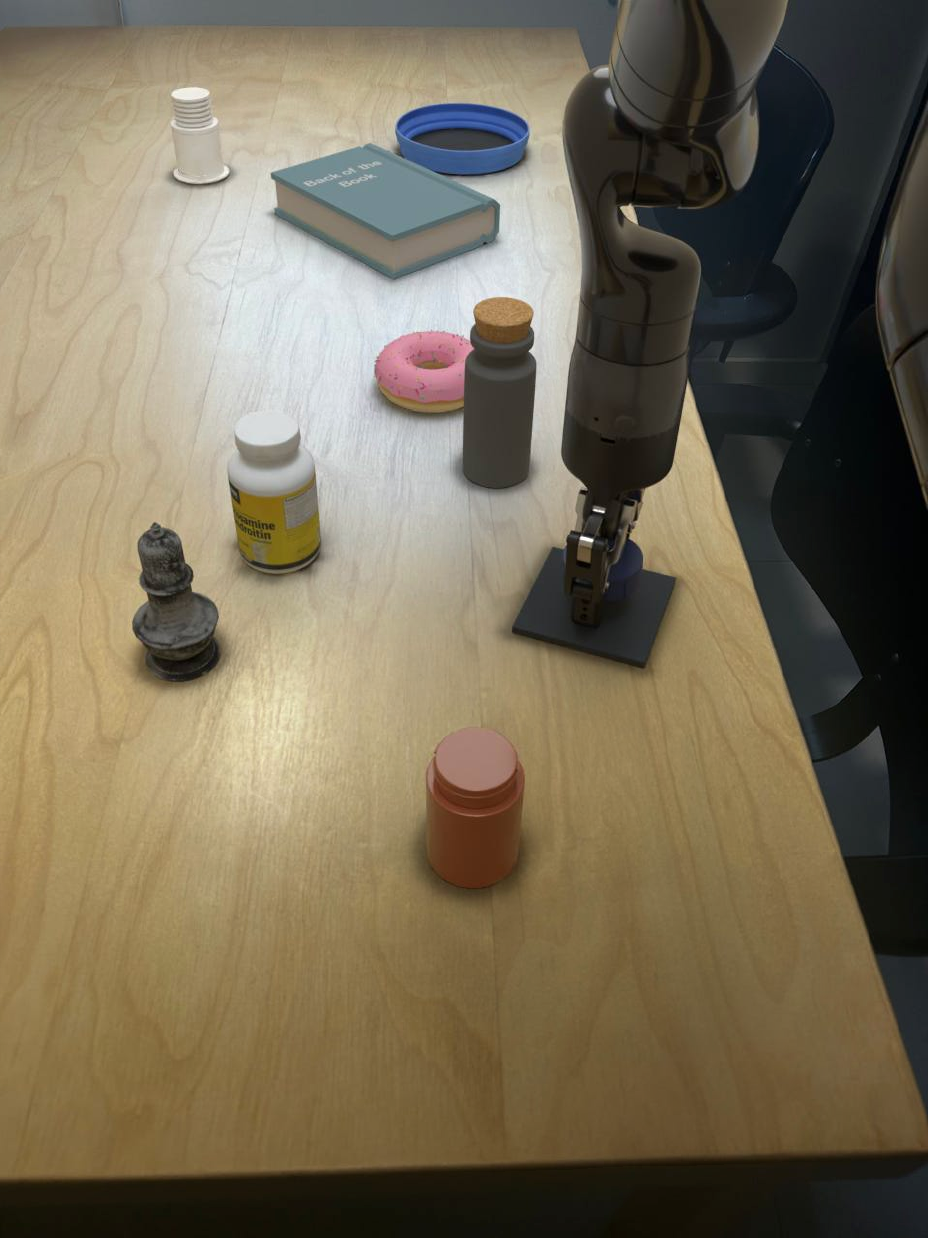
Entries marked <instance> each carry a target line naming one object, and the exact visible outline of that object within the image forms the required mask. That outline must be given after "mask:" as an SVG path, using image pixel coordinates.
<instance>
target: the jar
mask: <svg viewBox="0 0 928 1238" xmlns="http://www.w3.org/2000/svg"><path fill="white" fill-rule="evenodd" d="M433 754H434V756H433V757H432V758H431V760H430V762H429V763H428V766H427V769H426V773H425V833H426V834H425V836H426V838H425V839H426V840H425V843H426V845H425V846H426V847H425V848H426V849H425V850H426V856H427V860H428V863H429V865H430V866H431V868H432V869H433V871H434V872H435V873H436V874H437V875H438V876H439V877H440V878H441V879H443V880H444V881H446V882H447V883H449V884H451V885H454V886H456V887H461V888H464V889H465V888H466V889H481V888H486V887H489V886H493V885H495V884H497V883H499V882H500V881H502V880H503V879H505V878H506V877H508V875H510V873H511V872H512V870H514V868H515V866H516V864H517V862H518V858H519V850H520V839H521V829H522V818H523V808H524V795H525V784H526V775H525V770H524V768H523V766H522V763H521V761H520V758H519V754H518V751H517V750H516V748H515V747H514V745H513V744H512V743H511V740H509V739H508V738H507V737H505V735H502V733H500V732H497V731H496V730H493V729H490V728H487V727H475V726H474V727H465V728H461V729H458V730H455V731H452V732H451V733H449V734H447V735H446V736H444V737H443V738H442V739H441V740H440V741H439V742H438V743H437V744H436V747H435V749H434V751H433Z"/></svg>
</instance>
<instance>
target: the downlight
mask: <svg viewBox="0 0 928 1238" xmlns="http://www.w3.org/2000/svg"><path fill="white" fill-rule="evenodd" d="M170 96H171V101H172V108H173V113H174V119H172V120H171V121H170V127H171V134H172V140H173V147H174V153H175V159H176V160H175V161H176V168H175V169H174V171H173V176H174V178H175V179H176V180H178V181H180V182H183V183H187V184H197V185H205V184H210V183H215V182H218V181H221V180H223V179H225V178H227V177H228V176H229V174H230V168H229V167H228V166H227V165H226V164H224V157H223V150H222V141H221V134H220V126H219V125H220V124H219V119H218V118H217V117H215V116H213V111H212V103H211V95H210V91H209V90H208V89H206V88H202V87H195V86H192V87H189V86H188V87H181V88H177V89H175V90H173V91H172V92H171V94H170ZM178 169H179V171H180V172H179V171H178ZM219 171H220V172H219ZM181 172H182V173H185V174H190V175H196V176H200V177H196V176H189V175H185V174H182V173H181ZM217 172H218V173H217ZM215 173H216V174H215ZM211 174H212V175H211ZM203 175H207V176H203Z"/></svg>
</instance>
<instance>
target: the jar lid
mask: <svg viewBox="0 0 928 1238" xmlns="http://www.w3.org/2000/svg"><path fill="white" fill-rule="evenodd" d="M607 544H608V548H613V547H614V545H615V541H613V540H612V541H608V542H607ZM563 549H564V550H563V553H562V580H563V582H564V584H565V569H566V549H567V544H566V545H565V546H564V548H563ZM643 565H644V554H643V551H642V549H641V548H640V546H639V545H638V544H637V543H636V541H634V540H632V539H630V537H629V538H627V537H626V540H625V544H624V549H623V553H622V557H621V558H620V559H619V560H618V562H617V563H615V564H613V565H612V570H611V574H610V579H609V583H610V585H609V589H608V590H607V592H606V599H605V602H607V601H615V600H619V599H622V598H625V597H627V596H629V595H631V594H632V593H633V592H635V591H636V589H637V588H638V587H639V585H640V583H641V579H642V569H643V568H644V567H643Z"/></svg>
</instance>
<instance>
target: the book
mask: <svg viewBox="0 0 928 1238" xmlns="http://www.w3.org/2000/svg"><path fill="white" fill-rule="evenodd" d="M270 179H271V180H273V181H274V183H275V193H276V203H277V204H276V205H277V207H275V208H274V209H273V210H274V211H273V212H274V215H276V216H277V217H279V218H281V219H283V220H285V222H286V221H287V222H288V223H290V224H292V225H294V226H296V227H298V228H299V229H301V230H303V231H305V232H306V233H308V234H310V235H312V236H314V237H316V238H317V239H319V240H321V241H322V242H324V243H326V244H328V245H330V246H332V247H333V248H336V249H337V250H340V251H341V252H343V253H344V254H346V255H348V256H350V257H352V258H354V259H356V260H357V261H360V262H361V263H363V264H365V265H366V266H369V267H370V268H372V269H374V270H375V271H377V272H378V273H379V272H380V273H381V274H383V275H385V276H387V277H388V278H390V279H392V280H396V279H398V278H401V277H403V276H406V275H409V274H412V273H414V272H417V271H419V270H422V269H424V268H427V267H429V266H432V265H435V264H437V263H441V262H443V261H446V260H448V259H451V258H453V257H456V256H458V255H461V254H464V253H467V252H468V251H472V250H475V249H476V248H479V247H482V246H483V245H484V243H485V244H490V243H493V242H494V241H495V239H496V237H497V236H498V235H499V233H500V219H501V204H500V203H499V202H498V201H497V200H496V199H495V198H492V197H490V196H488V195H486V194H483V192H482V193H481V192H479V191H477V190H475V189H473V188H470V187H469V186H466V185H464V184H462V183H460V182H457V181H455V180H453V179H451V178H449V177H447V176H445V175H442V174H440V173H439V172H436V171H431V170H429V169H427V168H424V167H422V166H420V165H418V164H416V163H413V162H411V161H409V160H407V159H405V157H403V156H400V155H398V154H395V153H393V152H391V151H389V150H387V149H385V148H382V147H380V146H379V145H376V144H374V143H371V142H369V143H365V144H364V145H363V147H362V146H360V145H358V146H355V147H353V148H349V149H345V150H342V151H339V152H336V153H332V154H329V155H326V156H322V157H318V158H315V159H312V160H309V161H304V162H301V163H299V164H295V165H292V166H288V167H285V168H281V169H279V170H275V171H271V172H270Z"/></svg>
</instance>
